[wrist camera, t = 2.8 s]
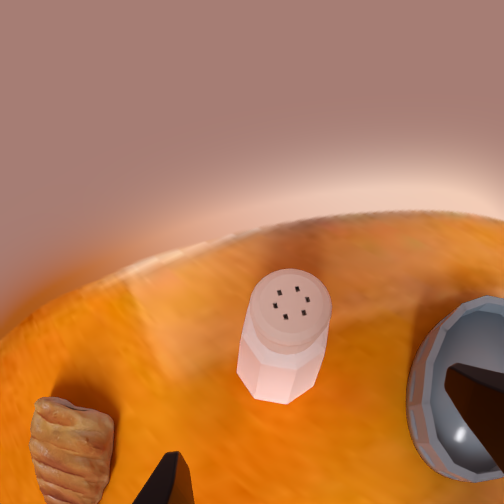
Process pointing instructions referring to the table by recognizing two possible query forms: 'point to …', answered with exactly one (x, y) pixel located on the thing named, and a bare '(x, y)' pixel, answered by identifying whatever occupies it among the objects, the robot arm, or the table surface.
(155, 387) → the table surface
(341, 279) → the table surface
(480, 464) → the dish
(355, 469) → the table surface
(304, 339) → the pepper shaker
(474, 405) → the robot arm
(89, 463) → the pastry
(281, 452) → the table surface
